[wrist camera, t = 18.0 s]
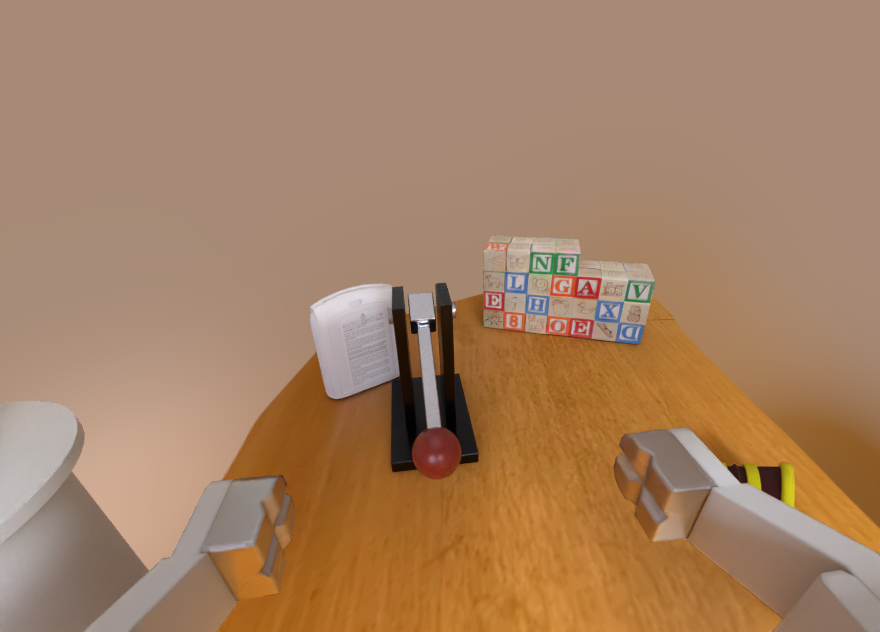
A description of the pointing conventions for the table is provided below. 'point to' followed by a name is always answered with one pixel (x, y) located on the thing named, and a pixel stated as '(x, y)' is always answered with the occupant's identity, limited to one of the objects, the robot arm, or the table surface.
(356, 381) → the photo printer
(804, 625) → the robot arm
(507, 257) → the stack of blocks
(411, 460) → the bracket
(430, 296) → the lever
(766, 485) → the opera glasses
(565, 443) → the table surface
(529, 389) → the table surface
